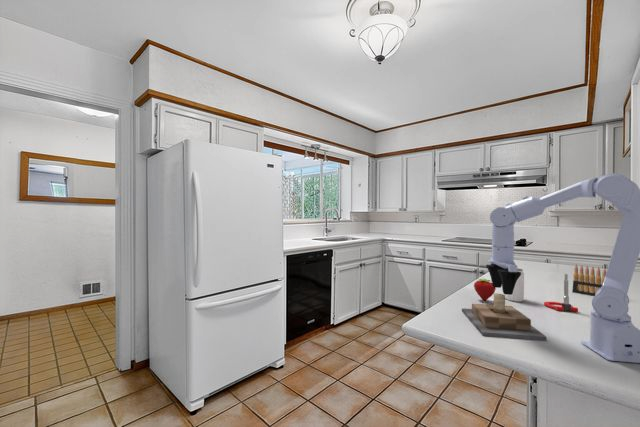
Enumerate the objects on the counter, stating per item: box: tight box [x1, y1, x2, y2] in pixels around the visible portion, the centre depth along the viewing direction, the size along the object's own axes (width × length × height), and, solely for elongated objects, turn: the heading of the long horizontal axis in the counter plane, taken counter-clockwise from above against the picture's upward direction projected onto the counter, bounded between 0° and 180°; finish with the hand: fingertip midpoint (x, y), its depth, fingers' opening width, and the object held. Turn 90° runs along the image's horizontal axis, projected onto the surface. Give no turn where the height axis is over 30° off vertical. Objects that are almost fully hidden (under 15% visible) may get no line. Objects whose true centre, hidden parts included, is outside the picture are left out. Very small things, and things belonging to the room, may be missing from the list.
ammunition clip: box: [571, 264, 607, 297], centre depth 122 cm, size 11×2×12 cm, turn 37°
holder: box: [461, 303, 548, 341], centre depth 91 cm, size 20×16×4 cm
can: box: [503, 267, 525, 303], centre depth 116 cm, size 6×6×12 cm
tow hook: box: [543, 273, 579, 313], centre depth 107 cm, size 8×13×9 cm
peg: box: [493, 293, 506, 314], centre depth 91 cm, size 3×3×8 cm
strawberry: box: [473, 278, 497, 302], centre depth 114 cm, size 6×8×10 cm
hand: (502, 290), depth 91 cm, fingers open, 7 cm apart
